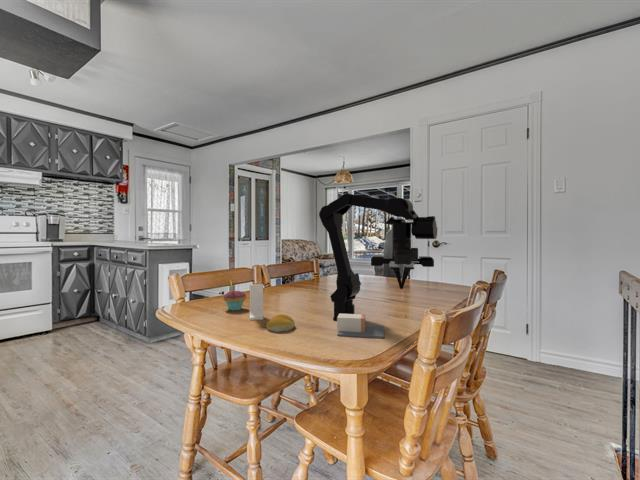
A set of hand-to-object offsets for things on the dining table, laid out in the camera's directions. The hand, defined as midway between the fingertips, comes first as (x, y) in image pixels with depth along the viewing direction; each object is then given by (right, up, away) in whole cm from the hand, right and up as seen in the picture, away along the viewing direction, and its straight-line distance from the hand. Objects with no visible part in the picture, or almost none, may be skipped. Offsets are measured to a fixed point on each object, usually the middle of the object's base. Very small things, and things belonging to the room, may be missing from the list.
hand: (401, 288), depth 105 cm
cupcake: (-58, -12, +25) cm, 65 cm away
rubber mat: (-13, -12, -4) cm, 18 cm away
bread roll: (-38, -13, 0) cm, 40 cm away
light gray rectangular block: (-48, -12, +12) cm, 51 cm away
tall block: (-12, -10, -5) cm, 16 cm away
